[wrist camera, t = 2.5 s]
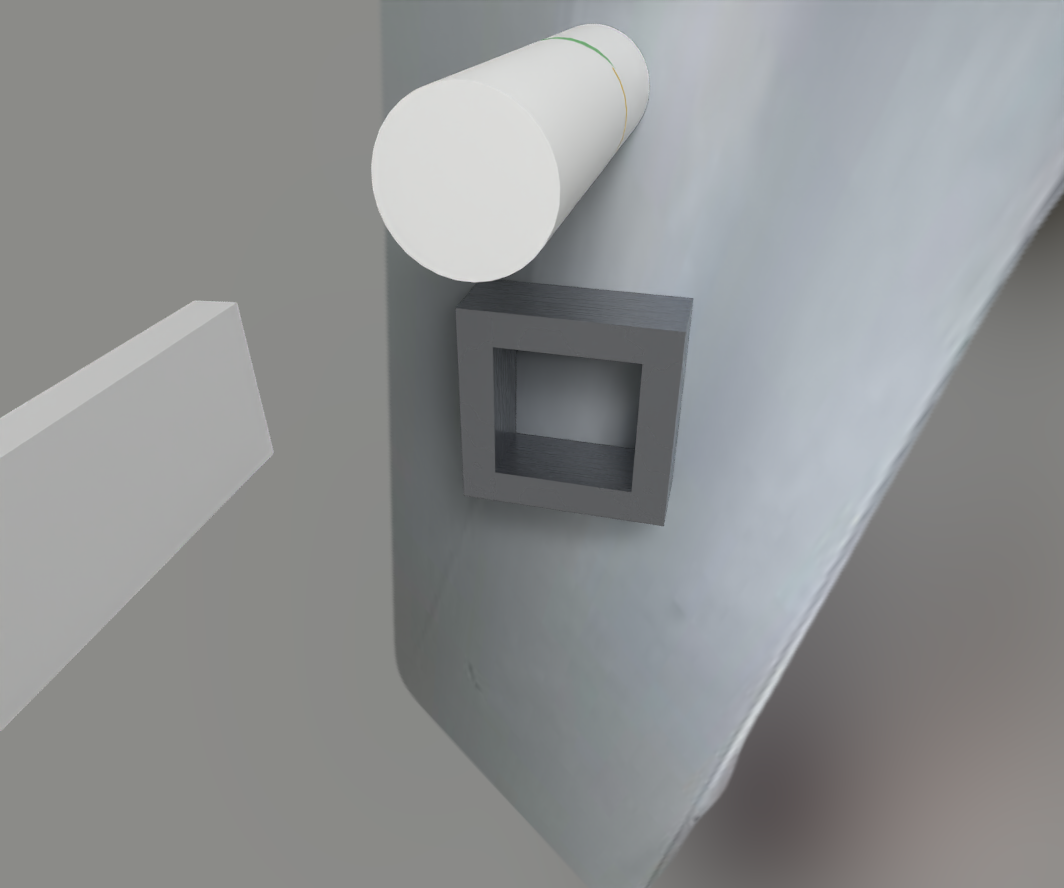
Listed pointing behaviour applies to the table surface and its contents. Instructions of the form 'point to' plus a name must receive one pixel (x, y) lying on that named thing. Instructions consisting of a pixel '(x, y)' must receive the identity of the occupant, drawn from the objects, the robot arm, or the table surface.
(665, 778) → the table surface
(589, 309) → the gray square frame
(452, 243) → the tube
